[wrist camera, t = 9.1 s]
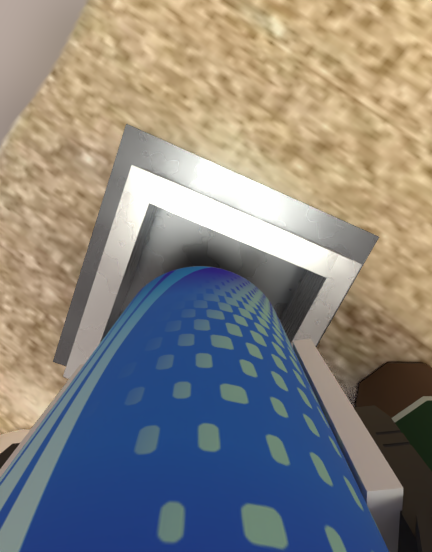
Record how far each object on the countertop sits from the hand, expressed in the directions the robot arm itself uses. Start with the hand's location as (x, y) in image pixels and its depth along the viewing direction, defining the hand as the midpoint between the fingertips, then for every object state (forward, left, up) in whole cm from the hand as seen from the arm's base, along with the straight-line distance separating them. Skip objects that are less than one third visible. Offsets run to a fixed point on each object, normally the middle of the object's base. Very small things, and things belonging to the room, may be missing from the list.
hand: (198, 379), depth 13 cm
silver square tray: (0, 0, -10) cm, 10 cm away
